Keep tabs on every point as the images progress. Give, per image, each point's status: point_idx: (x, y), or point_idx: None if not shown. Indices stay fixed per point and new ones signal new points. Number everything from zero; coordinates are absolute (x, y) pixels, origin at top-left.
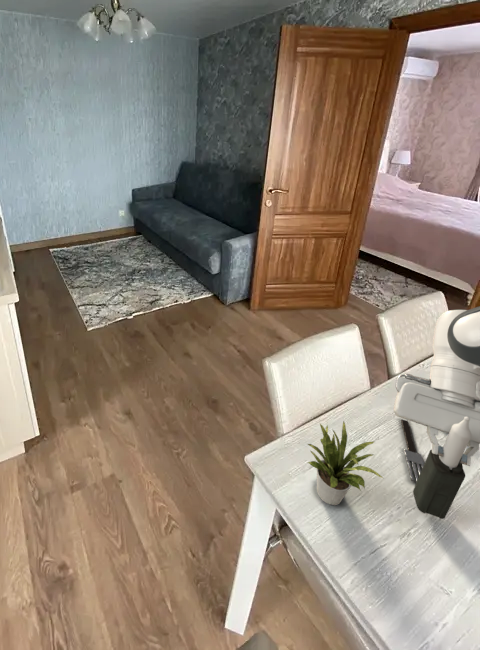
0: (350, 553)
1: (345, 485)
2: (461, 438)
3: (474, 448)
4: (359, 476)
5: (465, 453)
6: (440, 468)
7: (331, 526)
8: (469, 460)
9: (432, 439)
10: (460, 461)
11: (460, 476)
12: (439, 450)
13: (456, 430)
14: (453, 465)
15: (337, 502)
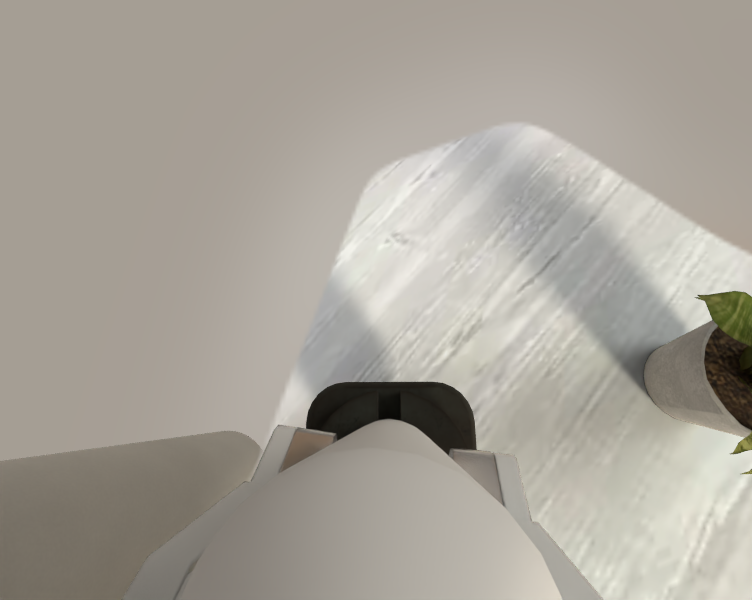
0: (604, 236)
1: (713, 348)
2: (412, 446)
3: (187, 557)
4: (738, 335)
5: None
6: (443, 404)
7: (659, 283)
8: (273, 450)
9: (568, 563)
10: (334, 442)
11: (341, 388)
12: (485, 477)
13: (545, 595)
14: (378, 421)
15: (667, 343)
